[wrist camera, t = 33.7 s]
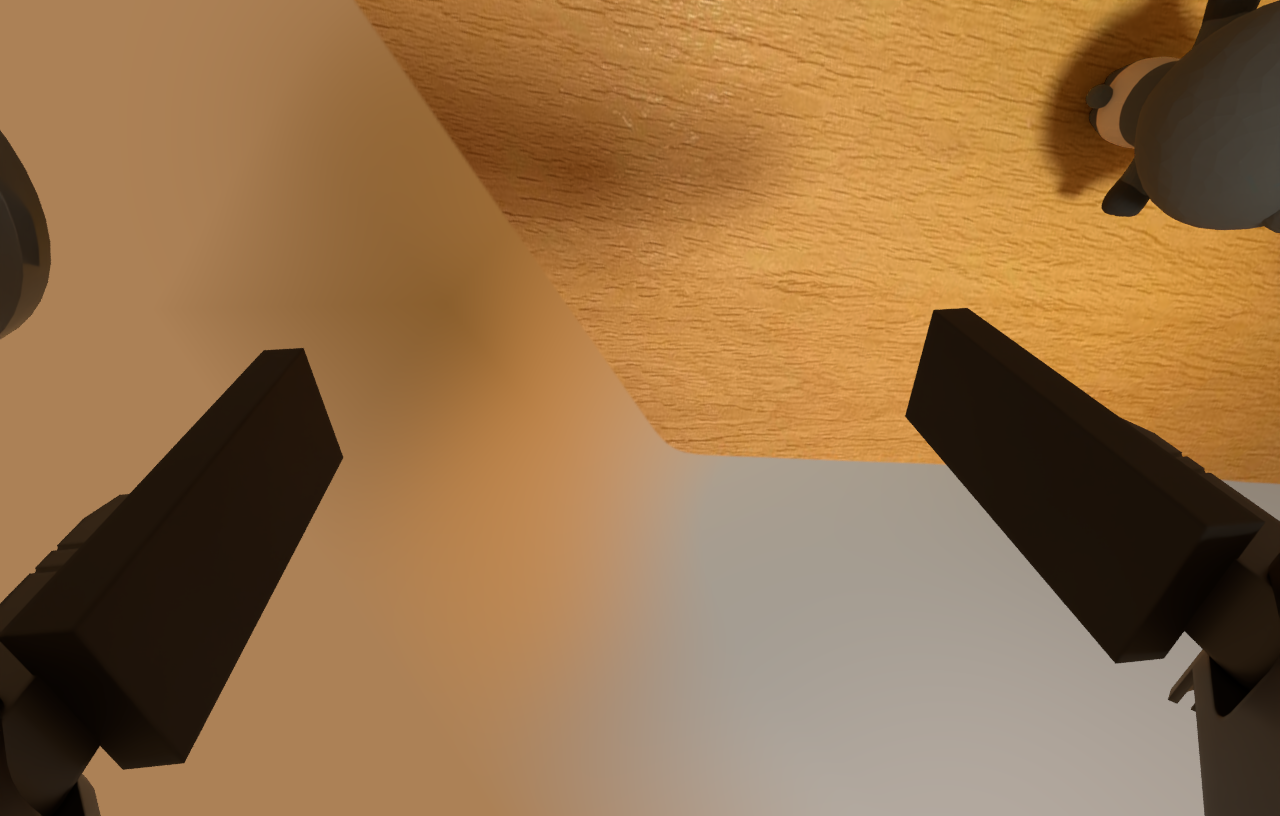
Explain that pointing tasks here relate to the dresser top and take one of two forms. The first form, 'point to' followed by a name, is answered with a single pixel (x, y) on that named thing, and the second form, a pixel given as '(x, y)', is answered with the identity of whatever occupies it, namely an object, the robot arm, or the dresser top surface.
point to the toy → (1201, 124)
